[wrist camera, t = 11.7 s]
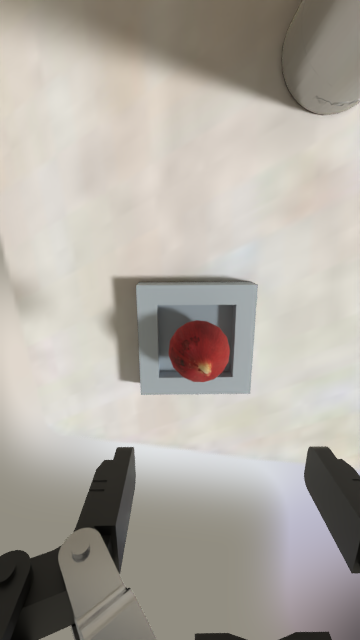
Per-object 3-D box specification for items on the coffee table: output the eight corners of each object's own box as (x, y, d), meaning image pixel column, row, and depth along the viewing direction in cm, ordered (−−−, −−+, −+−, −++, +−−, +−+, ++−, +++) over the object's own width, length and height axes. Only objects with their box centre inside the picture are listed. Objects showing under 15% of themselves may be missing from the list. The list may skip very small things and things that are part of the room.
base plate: (139, 282, 29) (136, 285, 27) (250, 281, 29) (257, 284, 27) (143, 383, 32) (140, 394, 30) (244, 382, 32) (249, 393, 30)
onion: (167, 360, 30) (165, 399, 23) (171, 310, 29) (171, 333, 21) (218, 364, 31) (233, 404, 23) (225, 314, 29) (244, 340, 21)
